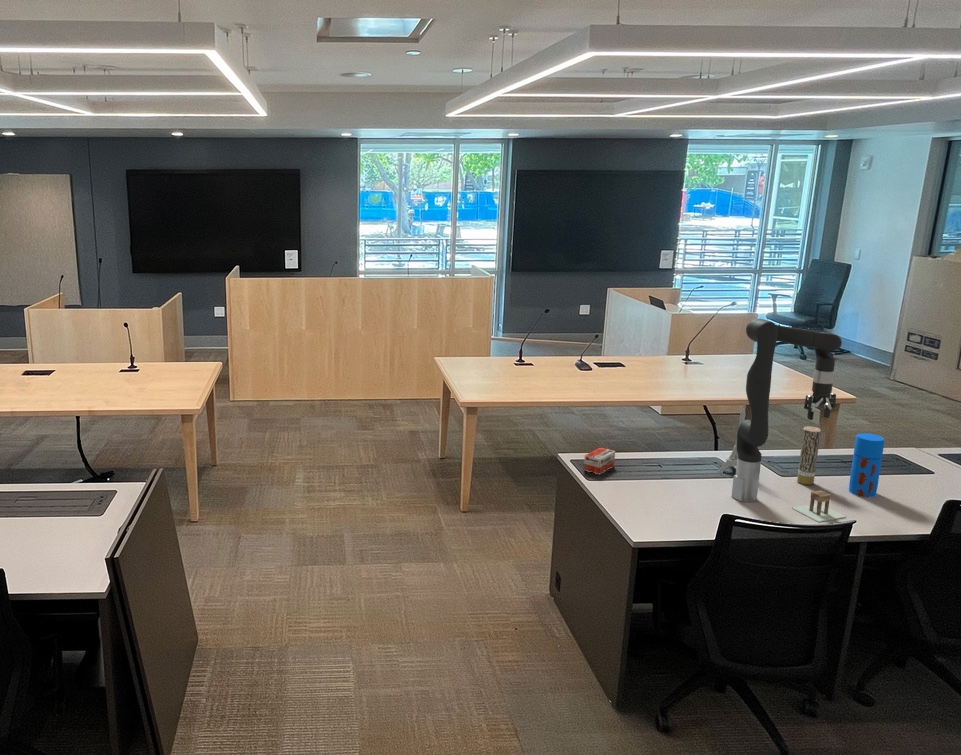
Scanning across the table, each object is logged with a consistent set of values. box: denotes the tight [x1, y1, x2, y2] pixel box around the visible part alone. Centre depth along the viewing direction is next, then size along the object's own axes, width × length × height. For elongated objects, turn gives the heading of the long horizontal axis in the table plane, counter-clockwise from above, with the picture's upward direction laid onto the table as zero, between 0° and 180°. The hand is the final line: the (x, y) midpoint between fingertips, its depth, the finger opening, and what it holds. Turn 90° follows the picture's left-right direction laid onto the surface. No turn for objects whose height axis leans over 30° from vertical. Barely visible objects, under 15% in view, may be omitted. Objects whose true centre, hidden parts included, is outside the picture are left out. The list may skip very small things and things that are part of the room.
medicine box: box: [583, 447, 616, 473], centre depth 345 cm, size 15×8×8 cm, turn 143°
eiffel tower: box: [716, 408, 747, 474], centre depth 344 cm, size 13×13×30 cm
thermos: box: [848, 432, 885, 498], centre depth 322 cm, size 11×11×25 cm
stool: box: [809, 490, 831, 515], centre depth 302 cm, size 5×5×8 cm
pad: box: [791, 503, 847, 523], centre depth 303 cm, size 14×14×1 cm
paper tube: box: [797, 425, 821, 486], centre depth 332 cm, size 7×7×25 cm
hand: (818, 418), depth 315 cm, fingers open, 8 cm apart
